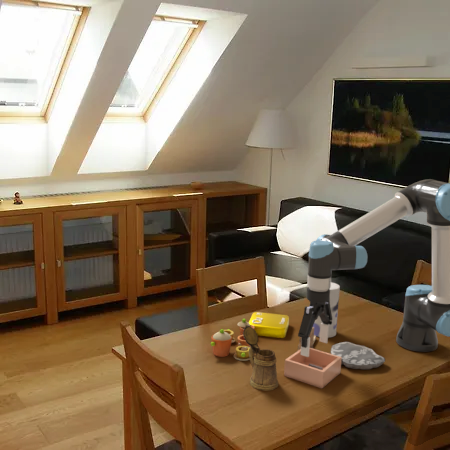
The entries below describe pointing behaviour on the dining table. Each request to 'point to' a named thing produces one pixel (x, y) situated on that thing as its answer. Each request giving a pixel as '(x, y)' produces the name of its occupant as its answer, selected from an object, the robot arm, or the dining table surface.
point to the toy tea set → (225, 338)
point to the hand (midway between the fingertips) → (314, 348)
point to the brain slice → (357, 356)
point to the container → (334, 311)
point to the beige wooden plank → (313, 341)
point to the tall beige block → (310, 339)
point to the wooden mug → (261, 363)
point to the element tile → (269, 324)
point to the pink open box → (313, 367)
